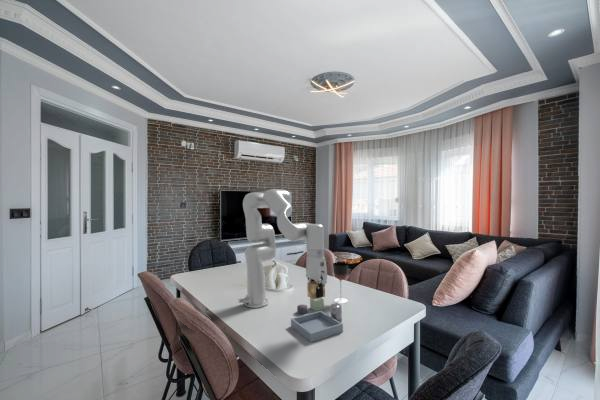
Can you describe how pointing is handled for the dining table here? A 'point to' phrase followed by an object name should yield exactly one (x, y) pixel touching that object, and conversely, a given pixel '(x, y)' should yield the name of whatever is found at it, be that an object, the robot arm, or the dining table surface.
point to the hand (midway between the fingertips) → (316, 295)
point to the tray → (316, 326)
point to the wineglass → (340, 277)
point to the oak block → (313, 289)
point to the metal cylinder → (336, 312)
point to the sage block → (317, 304)
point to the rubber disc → (302, 309)
